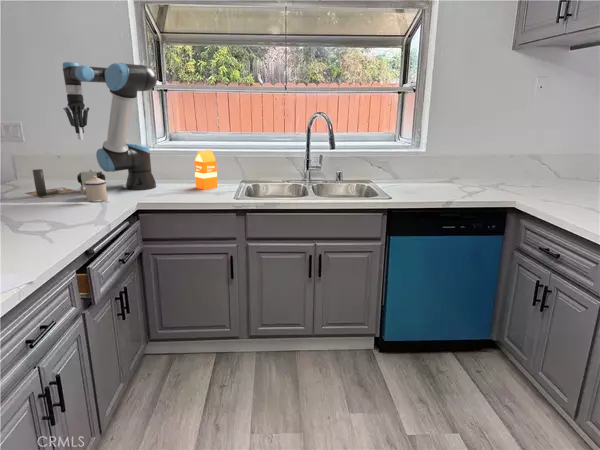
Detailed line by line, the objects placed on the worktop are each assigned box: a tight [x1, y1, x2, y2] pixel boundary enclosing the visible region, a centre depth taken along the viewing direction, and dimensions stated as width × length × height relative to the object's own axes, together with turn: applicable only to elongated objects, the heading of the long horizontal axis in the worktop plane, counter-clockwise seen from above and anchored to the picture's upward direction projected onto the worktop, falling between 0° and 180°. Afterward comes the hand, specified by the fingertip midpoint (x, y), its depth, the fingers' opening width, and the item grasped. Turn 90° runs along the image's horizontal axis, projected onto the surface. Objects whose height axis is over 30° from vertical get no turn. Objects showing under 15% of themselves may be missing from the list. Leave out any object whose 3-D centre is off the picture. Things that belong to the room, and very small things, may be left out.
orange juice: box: [194, 149, 218, 191], centre depth 222 cm, size 8×9×20 cm
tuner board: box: [24, 187, 81, 199], centre depth 202 cm, size 18×18×1 cm
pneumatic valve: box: [76, 169, 106, 187], centre depth 204 cm, size 6×12×12 cm, turn 94°
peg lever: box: [32, 168, 64, 196], centre depth 197 cm, size 13×4×12 cm, turn 155°
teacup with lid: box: [79, 176, 108, 204], centre depth 190 cm, size 12×9×12 cm
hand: (80, 139), depth 223 cm, fingers closed
